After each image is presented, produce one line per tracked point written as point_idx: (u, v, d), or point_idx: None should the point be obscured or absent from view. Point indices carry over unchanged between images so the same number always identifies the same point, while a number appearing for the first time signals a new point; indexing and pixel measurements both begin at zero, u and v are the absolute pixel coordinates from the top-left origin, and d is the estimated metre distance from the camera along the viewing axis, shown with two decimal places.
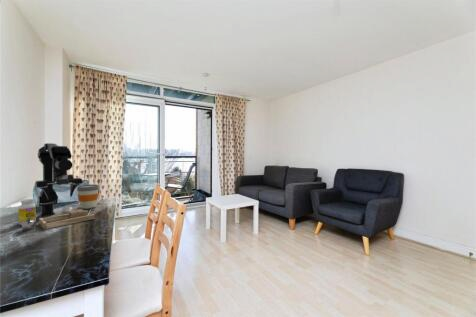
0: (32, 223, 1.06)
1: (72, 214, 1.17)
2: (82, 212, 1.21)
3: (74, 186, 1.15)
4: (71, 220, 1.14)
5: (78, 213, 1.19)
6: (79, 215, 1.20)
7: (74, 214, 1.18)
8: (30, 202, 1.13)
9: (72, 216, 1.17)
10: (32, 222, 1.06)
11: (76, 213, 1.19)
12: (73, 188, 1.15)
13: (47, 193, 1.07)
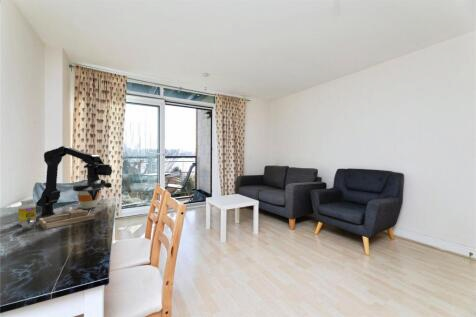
0: (32, 223, 1.06)
1: (72, 214, 1.17)
2: (82, 212, 1.21)
3: (97, 191, 1.27)
4: (71, 220, 1.14)
5: (78, 213, 1.19)
6: (79, 215, 1.20)
7: (74, 214, 1.18)
8: (30, 202, 1.13)
9: (72, 216, 1.17)
10: (32, 222, 1.06)
11: (76, 213, 1.19)
12: (96, 192, 1.27)
13: (92, 195, 1.26)
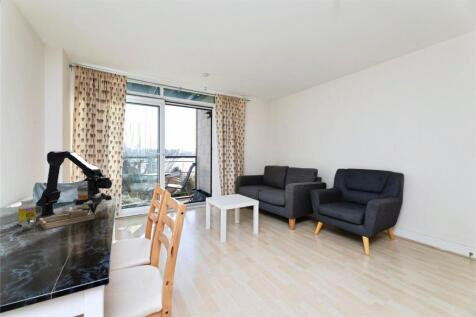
0: (32, 223, 1.06)
1: (72, 214, 1.17)
2: (82, 212, 1.21)
3: (97, 204, 1.27)
4: (71, 220, 1.14)
5: (78, 213, 1.19)
6: (79, 215, 1.20)
7: (74, 214, 1.18)
8: (30, 202, 1.13)
9: (72, 216, 1.17)
10: (32, 222, 1.06)
11: (76, 213, 1.19)
12: (96, 205, 1.28)
13: (92, 208, 1.26)
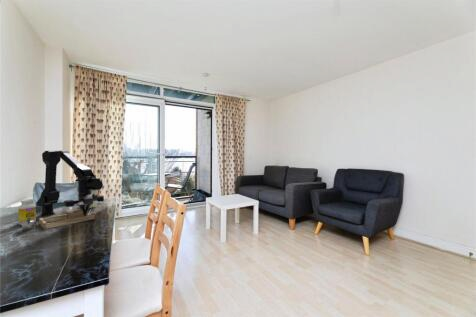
0: (32, 223, 1.06)
1: (70, 214, 1.16)
2: (80, 212, 1.20)
3: (88, 205, 1.24)
4: (71, 220, 1.14)
5: (76, 213, 1.19)
6: (77, 215, 1.19)
7: (72, 214, 1.17)
8: (30, 202, 1.13)
9: (70, 216, 1.17)
10: (32, 222, 1.06)
11: (74, 213, 1.18)
12: (87, 207, 1.24)
13: (83, 209, 1.23)
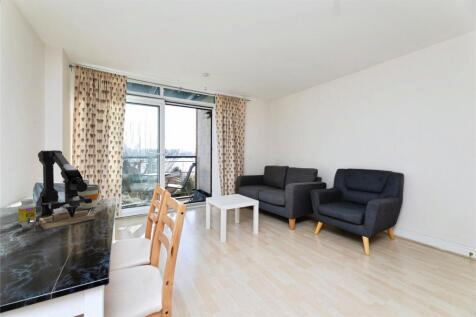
0: (32, 223, 1.06)
1: (55, 217, 1.11)
2: (66, 215, 1.15)
3: (75, 207, 1.19)
4: (71, 220, 1.14)
5: (62, 216, 1.14)
6: (63, 218, 1.14)
7: (58, 217, 1.12)
8: (30, 202, 1.13)
9: (55, 219, 1.12)
10: (32, 222, 1.06)
11: (60, 216, 1.13)
12: (74, 209, 1.19)
13: (70, 212, 1.18)
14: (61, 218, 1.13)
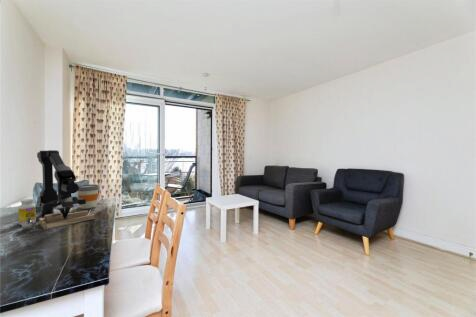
0: (32, 223, 1.06)
1: (48, 218, 1.09)
2: (59, 216, 1.13)
3: (68, 208, 1.17)
4: (71, 220, 1.14)
5: (54, 217, 1.11)
6: (56, 219, 1.12)
7: (50, 218, 1.10)
8: (30, 202, 1.13)
9: (48, 220, 1.09)
10: (32, 222, 1.06)
11: (52, 217, 1.10)
12: (67, 210, 1.17)
13: (63, 213, 1.16)
14: (54, 219, 1.11)
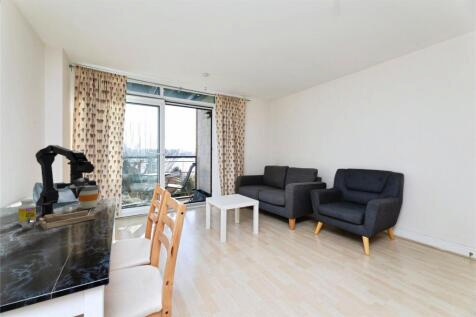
0: (32, 223, 1.06)
1: (47, 219, 1.09)
2: (59, 216, 1.13)
3: (80, 189, 1.22)
4: (71, 220, 1.14)
5: (54, 217, 1.11)
6: (55, 220, 1.12)
7: (50, 219, 1.10)
8: (30, 202, 1.13)
9: (47, 221, 1.09)
10: (32, 222, 1.06)
11: (52, 217, 1.10)
12: (79, 190, 1.22)
13: (75, 193, 1.21)
14: (53, 220, 1.11)
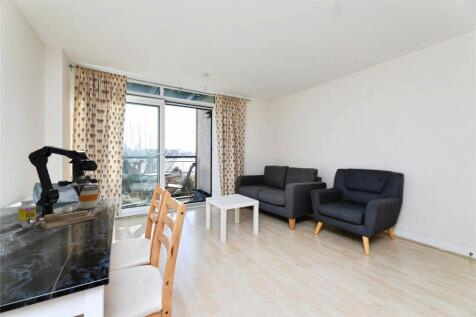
0: (32, 223, 1.06)
1: (47, 219, 1.09)
2: (59, 216, 1.13)
3: (82, 186, 1.28)
4: (71, 220, 1.14)
5: (54, 217, 1.11)
6: (55, 220, 1.12)
7: (50, 219, 1.10)
8: (30, 202, 1.13)
9: (47, 221, 1.09)
10: (32, 222, 1.06)
11: (52, 217, 1.10)
12: (81, 188, 1.28)
13: (77, 190, 1.27)
14: (53, 220, 1.11)
